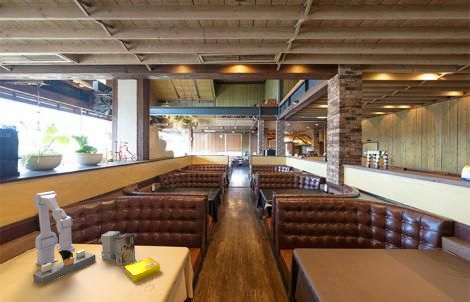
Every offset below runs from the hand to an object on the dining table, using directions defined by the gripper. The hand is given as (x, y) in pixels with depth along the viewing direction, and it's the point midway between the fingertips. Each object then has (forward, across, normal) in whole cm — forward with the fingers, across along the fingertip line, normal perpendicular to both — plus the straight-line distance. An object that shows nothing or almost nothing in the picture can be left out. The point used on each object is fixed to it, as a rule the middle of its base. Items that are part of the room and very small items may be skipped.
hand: (66, 262), depth 136 cm
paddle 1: (+1, -2, -9) cm, 9 cm away
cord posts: (+5, -8, 0) cm, 9 cm away
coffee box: (+5, +23, +21) cm, 32 cm away
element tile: (+5, +43, +16) cm, 47 cm away
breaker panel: (+5, 0, 0) cm, 5 cm away
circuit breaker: (+5, +11, +23) cm, 26 cm away
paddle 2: (+1, -2, +9) cm, 9 cm away
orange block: (+1, +3, 0) cm, 3 cm away
